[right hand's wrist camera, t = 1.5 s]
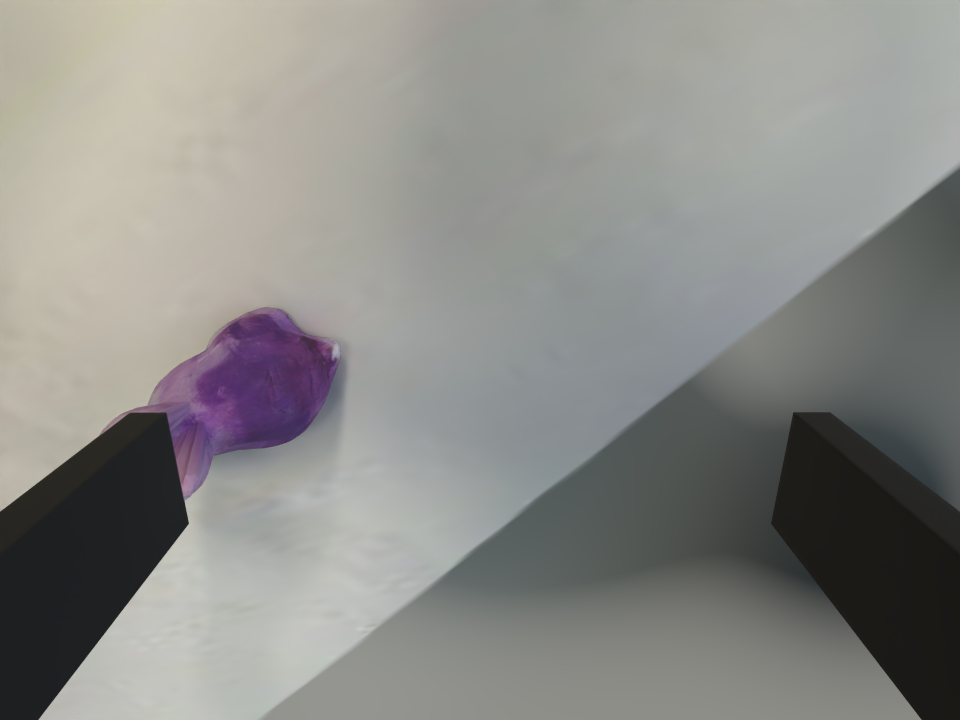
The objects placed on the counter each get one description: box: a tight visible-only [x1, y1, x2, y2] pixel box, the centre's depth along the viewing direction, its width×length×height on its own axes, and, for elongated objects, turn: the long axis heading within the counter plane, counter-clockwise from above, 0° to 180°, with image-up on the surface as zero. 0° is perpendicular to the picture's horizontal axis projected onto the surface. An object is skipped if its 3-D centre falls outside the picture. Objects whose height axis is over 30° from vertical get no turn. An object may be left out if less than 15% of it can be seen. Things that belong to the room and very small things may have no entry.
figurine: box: [100, 308, 341, 501], centre depth 33 cm, size 9×10×15 cm
